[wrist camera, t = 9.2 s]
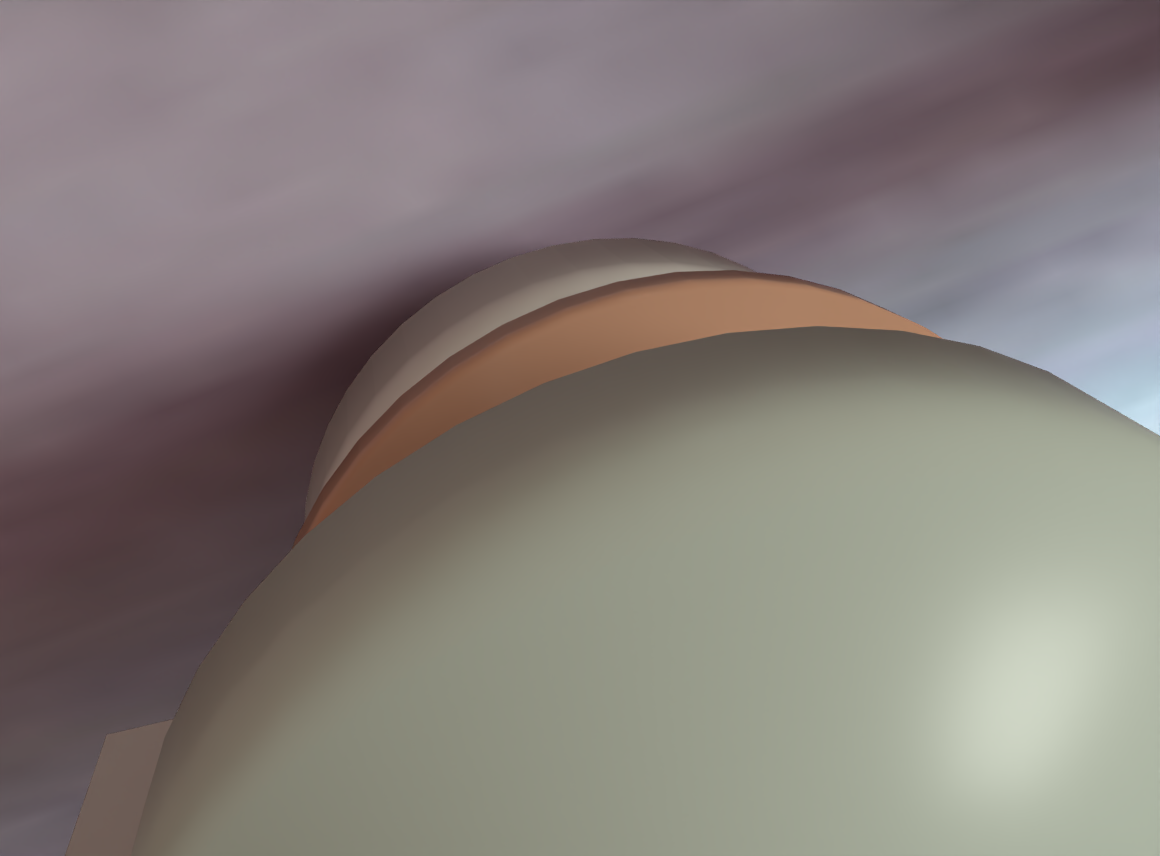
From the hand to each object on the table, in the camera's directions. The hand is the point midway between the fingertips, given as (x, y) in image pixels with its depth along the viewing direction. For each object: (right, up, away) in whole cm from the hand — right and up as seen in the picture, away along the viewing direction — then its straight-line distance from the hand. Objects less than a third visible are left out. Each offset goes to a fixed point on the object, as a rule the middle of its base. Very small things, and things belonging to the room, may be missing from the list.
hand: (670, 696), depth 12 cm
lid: (0, -1, -2) cm, 2 cm away
